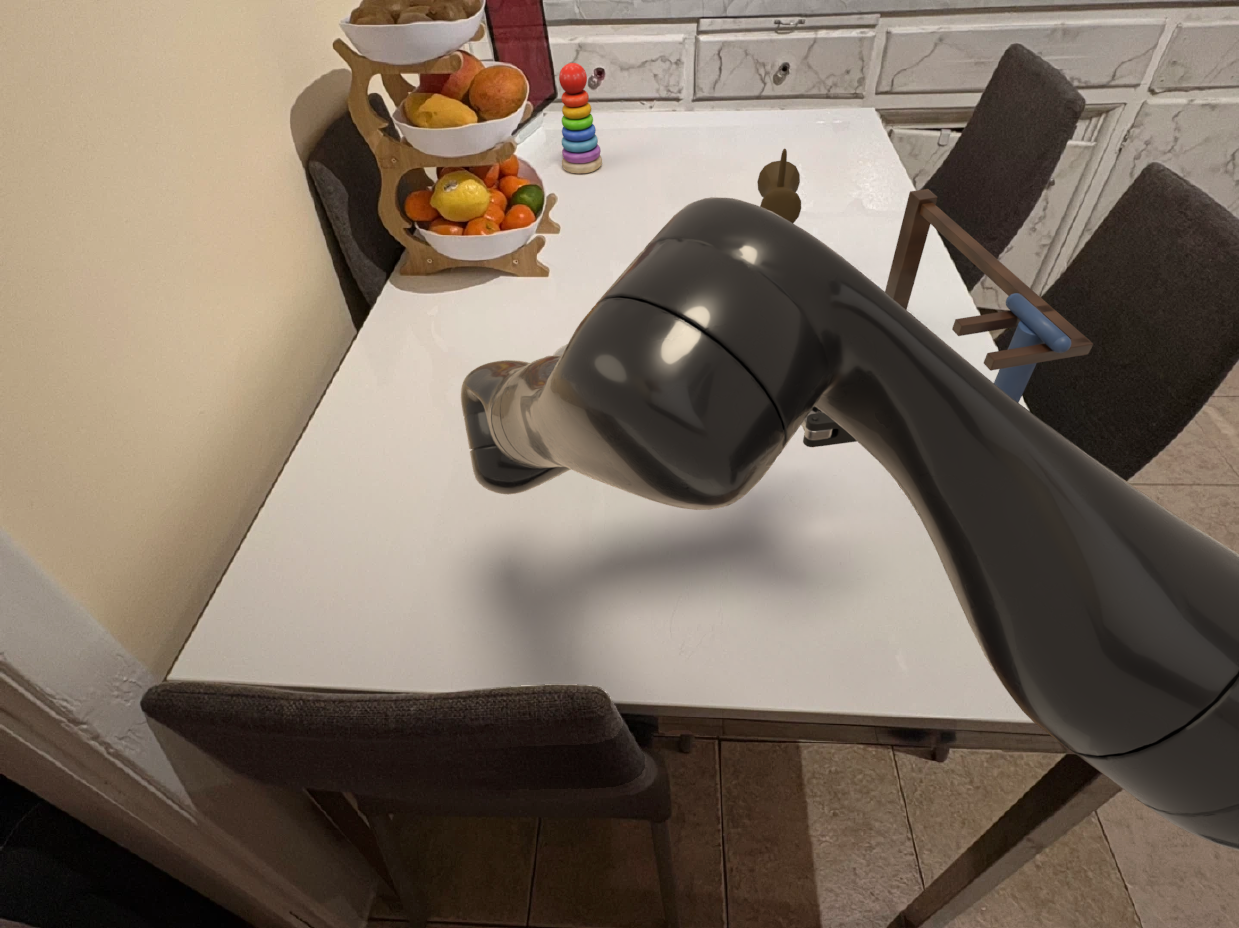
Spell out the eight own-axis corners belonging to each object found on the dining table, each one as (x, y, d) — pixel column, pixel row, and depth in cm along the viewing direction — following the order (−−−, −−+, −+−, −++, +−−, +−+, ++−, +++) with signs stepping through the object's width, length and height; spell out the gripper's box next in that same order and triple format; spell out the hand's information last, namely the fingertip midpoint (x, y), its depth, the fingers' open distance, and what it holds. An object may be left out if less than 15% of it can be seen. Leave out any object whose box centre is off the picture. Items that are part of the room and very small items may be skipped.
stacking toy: (573, 156, 147) (563, 54, 134) (608, 161, 144) (603, 57, 131) (555, 172, 142) (544, 67, 129) (592, 177, 139) (584, 71, 126)
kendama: (788, 265, 113) (805, 134, 99) (790, 298, 107) (810, 163, 93) (749, 264, 114) (761, 134, 100) (749, 297, 107) (762, 163, 93)
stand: (1043, 484, 79) (1125, 333, 65) (936, 504, 78) (996, 354, 64) (891, 305, 104) (926, 169, 90) (808, 318, 103) (831, 182, 89)
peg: (983, 482, 75) (1046, 345, 63) (941, 428, 81) (991, 293, 69) (1022, 475, 75) (1092, 337, 63) (978, 421, 81) (1034, 286, 69)
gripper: (739, 414, 52) (951, 378, 53) (688, 308, 62) (868, 280, 63) (733, 486, 57) (926, 451, 59) (687, 377, 67) (853, 350, 69)
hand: (895, 363), depth 61 cm, fingers open, 8 cm apart
